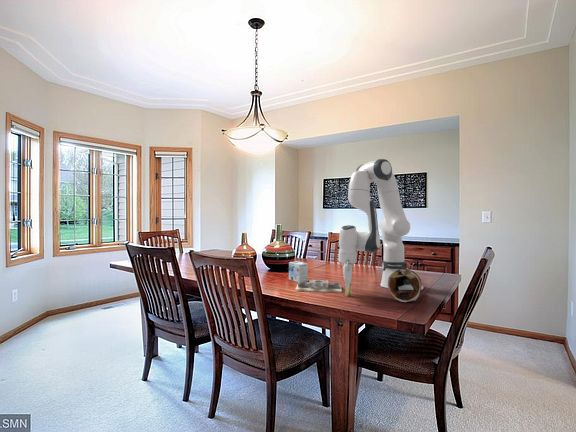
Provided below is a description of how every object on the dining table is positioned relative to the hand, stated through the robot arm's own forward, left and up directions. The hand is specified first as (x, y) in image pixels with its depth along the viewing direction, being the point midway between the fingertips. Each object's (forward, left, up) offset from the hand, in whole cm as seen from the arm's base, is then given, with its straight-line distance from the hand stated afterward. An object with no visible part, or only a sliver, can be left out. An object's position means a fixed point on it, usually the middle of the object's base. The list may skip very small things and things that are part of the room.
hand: (347, 286), depth 169 cm
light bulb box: (+27, -32, -5) cm, 42 cm away
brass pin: (-1, 0, -5) cm, 5 cm away
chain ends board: (+14, -12, -5) cm, 19 cm away
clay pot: (-29, -3, -5) cm, 29 cm away
